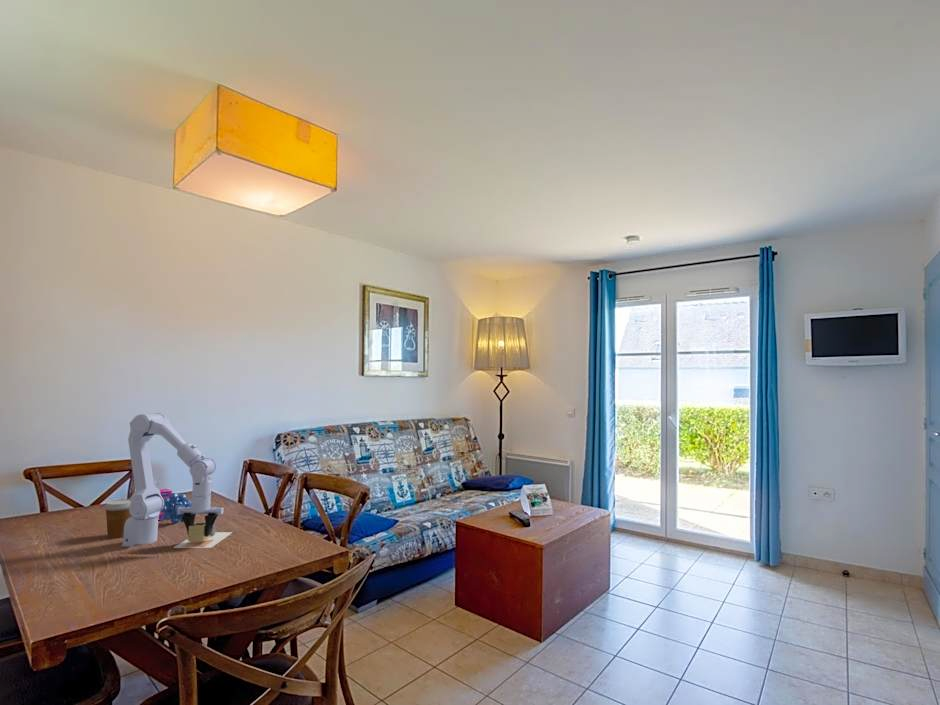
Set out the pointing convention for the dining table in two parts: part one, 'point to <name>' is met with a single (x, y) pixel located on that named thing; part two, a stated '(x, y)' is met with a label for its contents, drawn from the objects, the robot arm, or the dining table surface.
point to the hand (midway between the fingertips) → (199, 535)
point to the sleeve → (197, 532)
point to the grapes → (174, 507)
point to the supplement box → (164, 494)
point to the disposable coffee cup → (117, 516)
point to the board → (208, 543)
